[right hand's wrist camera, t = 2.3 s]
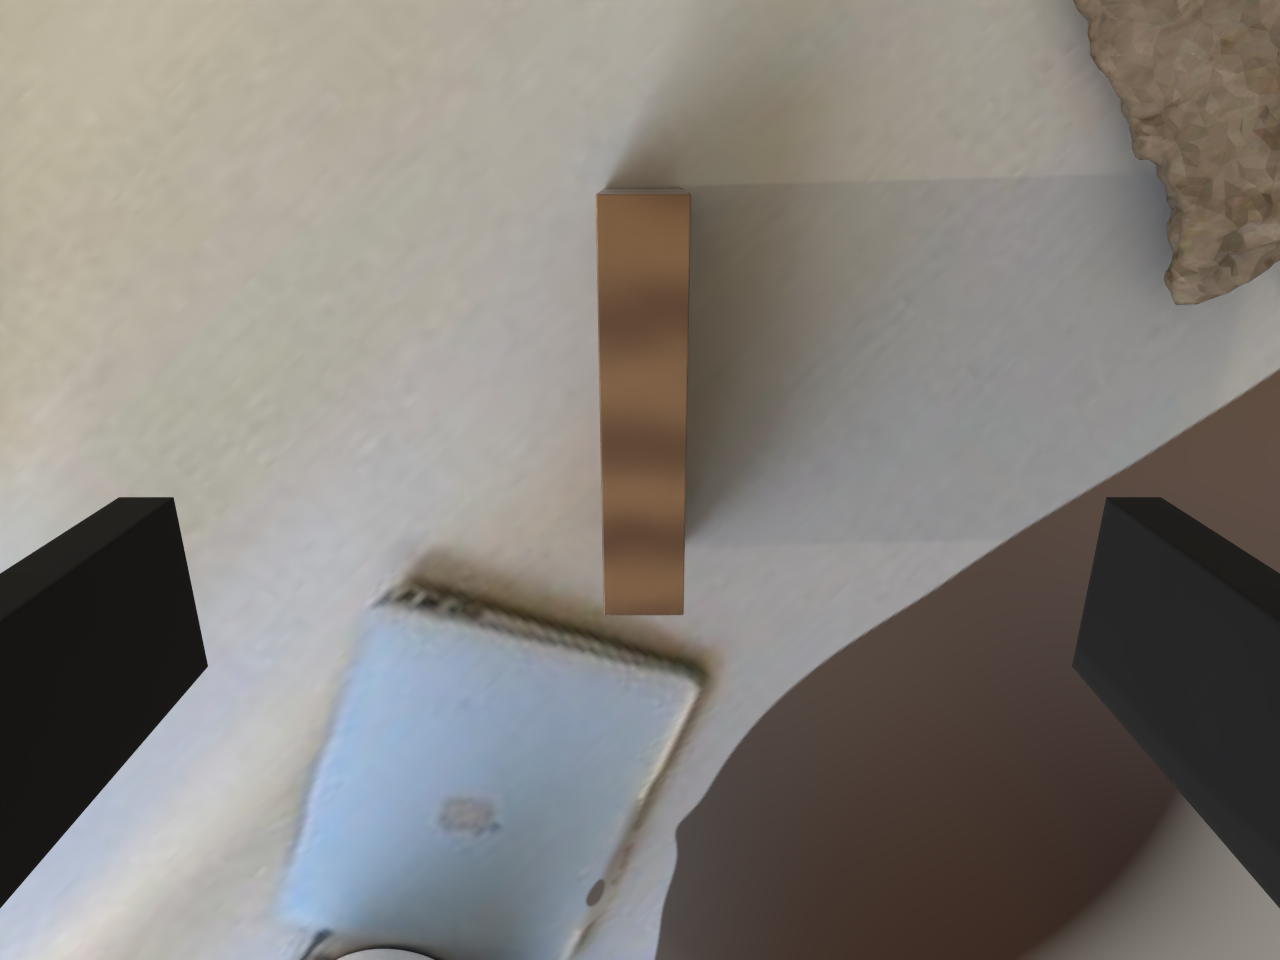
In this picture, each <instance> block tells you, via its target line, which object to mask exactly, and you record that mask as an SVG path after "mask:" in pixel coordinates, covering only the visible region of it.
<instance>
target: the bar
mask: <svg viewBox="0 0 1280 960" xmlns="http://www.w3.org/2000/svg"><path fill="white" fill-rule="evenodd" d="M690 214H691V195H690V194H689V193H688V192H686V191H685V190H683V189H681V188H605V189H603V190H602V191H600V192H599V193H598V194H596V232H597V284H598V336H599V388H600V441H601V493H602V545H603V597H604V615H683V610H684V554H685V497H686V440H687V384H688V327H689V270H690Z"/></svg>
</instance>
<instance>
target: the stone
mask: <svg viewBox="0 0 1280 960" xmlns="http://www.w3.org/2000/svg"><path fill="white" fill-rule="evenodd" d="M1073 1H1074V2H1075V5H1076V8H1077V9H1078V11H1079V12H1080V13H1081V14H1082V15H1083V16H1084V17H1085V18H1086V19H1087V20H1088V23H1089V29H1088V36H1089V40H1090V55H1091V57H1092V59H1093V60H1094V62H1095V63H1096V65H1097V67H1098V68H1099V69H1100V70H1101V71H1102V72H1103V73H1105V74H1106V76H1107V77H1108V79H1109V80H1110V82H1111V84H1112V86H1113V88H1114V90H1115V91H1116V93H1117V95H1118V96H1119V97H1120V98H1121V109H1122V113H1123V114H1124V116H1125V117H1126V119H1127V120H1128V122H1129V125H1130V127H1129V128H1130V132H1131V137H1132V149H1133V151H1134V154H1135V156H1136V157H1137V158H1138V159H1146V160H1150V161H1151V162H1153V163H1154V164H1155V165H1156V167H1157V176H1158V177H1159V178H1160V180H1161V181H1162V182H1163V183H1164V184H1165V186H1166V191H1167V201H1168V203H1169V205H1170V206H1171V207H1172V208H1173V210H1172V214H1171V217H1170V220H1169V222H1168V224H1167V231H1168V241H1169V243H1170V245H1171V248H1172V250H1173V258H1172V263H1171V265H1170V266H1169V268H1168V270H1167V271H1166V273H1165V276H1164V281H1165V284H1166V286H1167V287H1168V289H1169V290H1170V292H1171V294H1172V298H1173V300H1174V302H1175V304H1176V305H1182V304H1199V303H1201V302H1204V301H1206V300H1209V299H1212V298H1214V297H1217V296H1220V295H1223V294H1226V293H1229V292H1230V291H1232V290H1233V289H1235V288H1237V287H1238V286H1240V285H1243V284H1245V283H1248V282H1250V281H1251V280H1253V279H1254V278H1256V277H1257V276H1259V275H1260V274H1262V273H1263V272H1265V271H1266V270H1268V269H1269V268H1270V267H1271V266H1272V265H1273V264H1274V263H1275V262H1277V261H1279V260H1280V0H1073Z"/></svg>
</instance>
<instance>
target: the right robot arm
mask: <svg viewBox="0 0 1280 960" xmlns="http://www.w3.org/2000/svg"><path fill="white" fill-rule="evenodd" d="M207 667H208V664H207V659H206V655H205V650H204V645H203V640H202V635H201V630H200V625H199V620H198V615H197V610H196V605H195V600H194V596H193V591H192V586H191V581H190V576H189V571H188V566H187V561H186V556H185V551H184V546H183V542H182V537H181V532H180V527H179V522H178V517H177V512H176V507H175V502H174V497H119V498H117V499H116V500H114V501H113V502H111V503H110V504H108V505H106V506H105V507H103V508H102V509H100V510H99V511H97V512H96V513H94V514H92V515H91V516H89V517H88V518H86V519H85V520H83V521H82V522H80V523H78V524H77V525H75V526H74V527H72V528H71V529H69V530H68V531H66V532H64V533H63V534H61V535H60V536H58V537H57V538H55V539H54V540H52V541H50V542H49V543H47V544H46V545H44V546H43V547H41V548H40V549H38V550H36V551H35V552H33V553H32V554H30V555H29V556H27V557H25V558H24V559H22V560H21V561H19V562H18V563H16V564H15V565H13V566H11V567H10V568H8V569H7V570H5V571H4V572H2V573H1V574H0V908H1V907H2V906H3V904H4V903H5V902H6V901H7V900H8V899H9V897H10V896H11V895H12V894H13V893H14V892H15V890H16V889H17V888H18V887H19V886H20V885H21V884H22V882H23V881H24V880H25V879H26V878H27V877H28V875H29V874H30V873H31V872H32V871H33V870H34V868H35V867H36V866H37V865H38V864H39V863H40V861H41V860H42V859H43V858H44V857H45V856H46V854H47V853H48V852H49V851H50V850H51V849H52V847H53V846H54V845H55V844H56V843H57V842H58V840H59V839H60V838H61V837H62V836H63V835H64V833H65V832H66V831H67V830H68V829H69V828H70V826H71V825H72V824H73V823H74V822H75V821H76V819H77V818H78V817H79V816H80V815H81V814H82V812H83V811H84V810H85V809H86V808H87V807H88V805H89V804H90V803H91V802H92V801H93V800H94V798H95V797H96V796H97V795H98V794H99V793H100V791H101V790H102V789H103V788H104V787H105V786H106V784H107V783H108V782H109V781H110V780H111V779H112V778H113V776H114V775H115V774H116V773H117V772H118V771H119V769H120V768H121V767H122V766H123V765H124V764H125V762H126V761H127V760H128V759H129V758H130V757H131V755H132V754H133V753H134V752H135V751H136V750H137V748H138V747H139V746H140V745H141V744H142V743H143V741H144V740H145V739H146V738H147V737H148V736H149V734H150V733H151V732H152V731H153V730H154V729H155V727H156V726H157V725H158V724H159V723H160V722H161V720H162V719H163V718H164V717H165V716H166V715H167V713H168V712H169V711H170V710H171V709H172V708H173V706H174V705H175V704H176V703H177V702H178V701H179V699H180V698H181V697H182V696H183V695H184V694H185V692H186V691H187V690H188V689H189V688H190V687H191V685H192V684H193V683H194V682H195V681H196V680H197V678H198V677H199V676H200V675H201V674H202V673H203V671H204V670H205V669H206V668H207ZM1072 667H1073V668H1074V669H1075V670H1076V671H1077V673H1078V674H1079V675H1080V676H1081V677H1082V678H1083V680H1084V681H1085V682H1086V683H1087V684H1088V685H1089V687H1090V688H1091V689H1092V690H1093V691H1094V692H1095V694H1096V695H1097V696H1098V697H1099V698H1100V699H1101V701H1102V702H1103V703H1104V704H1105V705H1106V706H1107V708H1108V709H1109V710H1110V711H1111V712H1112V713H1113V715H1114V716H1115V717H1116V718H1117V719H1118V720H1119V722H1120V723H1121V724H1122V725H1123V726H1124V727H1125V729H1126V730H1127V731H1128V732H1129V733H1130V734H1131V736H1132V737H1133V738H1134V739H1135V740H1136V741H1137V743H1138V744H1139V745H1140V746H1141V747H1142V748H1143V750H1144V751H1145V752H1146V753H1147V754H1148V755H1149V757H1150V758H1151V759H1152V760H1153V761H1154V762H1155V763H1156V765H1157V766H1158V767H1159V768H1160V769H1161V771H1162V772H1163V773H1164V774H1165V775H1166V776H1167V777H1168V779H1169V780H1170V781H1171V782H1172V783H1173V784H1174V786H1175V787H1176V788H1177V789H1178V790H1179V791H1180V793H1181V794H1182V795H1183V796H1184V797H1185V798H1186V800H1187V801H1188V802H1189V803H1190V804H1191V805H1192V807H1193V808H1194V809H1195V810H1196V811H1197V812H1198V814H1199V815H1200V816H1201V817H1202V818H1203V819H1204V821H1205V822H1206V823H1207V824H1208V825H1209V826H1210V828H1211V829H1212V830H1213V831H1214V832H1215V833H1216V835H1217V836H1218V837H1219V838H1220V839H1221V840H1222V842H1223V843H1224V844H1225V845H1226V846H1227V847H1228V849H1229V850H1230V851H1231V852H1232V853H1233V854H1234V856H1235V857H1236V858H1237V859H1238V860H1239V861H1240V862H1241V864H1242V865H1243V866H1244V867H1245V868H1246V870H1247V871H1248V872H1249V873H1250V874H1251V875H1252V877H1253V878H1254V879H1255V880H1256V881H1257V882H1258V883H1259V885H1260V886H1261V887H1262V888H1263V889H1264V890H1265V892H1266V893H1267V894H1268V895H1269V896H1270V897H1271V899H1272V900H1273V901H1274V902H1275V903H1276V904H1277V906H1278V907H1279V908H1280V574H1279V573H1278V572H1276V571H1275V570H1273V569H1272V568H1270V567H1269V566H1267V565H1265V564H1264V563H1262V562H1261V561H1259V560H1258V559H1256V558H1255V557H1253V556H1251V555H1250V554H1248V553H1247V552H1245V551H1244V550H1242V549H1240V548H1239V547H1237V546H1236V545H1234V544H1233V543H1231V542H1230V541H1228V540H1226V539H1225V538H1223V537H1222V536H1220V535H1219V534H1217V533H1216V532H1214V531H1212V530H1211V529H1209V528H1208V527H1206V526H1205V525H1203V524H1202V523H1200V522H1198V521H1197V520H1195V519H1194V518H1192V517H1191V516H1189V515H1187V514H1186V513H1184V512H1183V511H1181V510H1180V509H1178V508H1177V507H1175V506H1173V505H1172V504H1170V503H1169V502H1167V501H1166V500H1164V499H1163V498H1161V497H1107V498H1106V503H1105V507H1104V512H1103V517H1102V522H1101V527H1100V532H1099V537H1098V542H1097V547H1096V551H1095V556H1094V562H1093V566H1092V571H1091V576H1090V581H1089V586H1088V591H1087V596H1086V600H1085V605H1084V610H1083V615H1082V620H1081V625H1080V630H1079V635H1078V640H1077V645H1076V650H1075V655H1074V659H1073V664H1072Z"/></svg>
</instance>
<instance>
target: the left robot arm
mask: <svg viewBox="0 0 1280 960" xmlns="http://www.w3.org/2000/svg"><path fill="white" fill-rule="evenodd" d="M336 960H434V959H432V958H429V957H427V956H424V955H421V954H418V953H414V952H410V951H404V950H397V949H371V950H364V951H359V952H355V953H351V954H348V955H345V956H343V957H341V958H338V959H336Z"/></svg>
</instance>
